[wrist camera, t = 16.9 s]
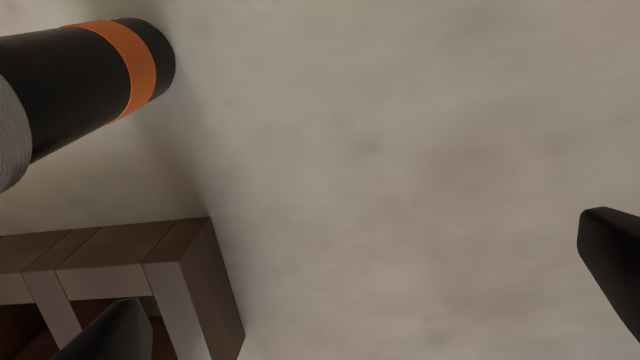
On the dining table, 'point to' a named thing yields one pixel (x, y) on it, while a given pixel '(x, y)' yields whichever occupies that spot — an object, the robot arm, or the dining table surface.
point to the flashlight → (74, 85)
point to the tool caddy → (118, 288)
